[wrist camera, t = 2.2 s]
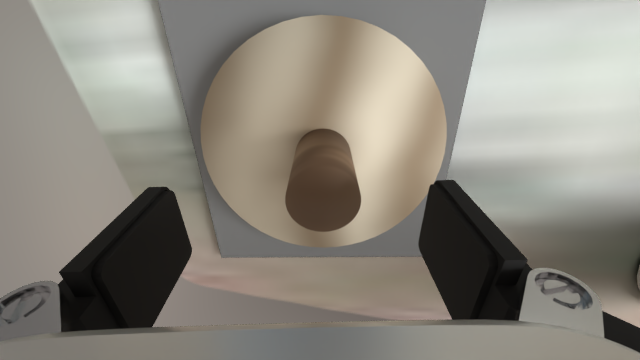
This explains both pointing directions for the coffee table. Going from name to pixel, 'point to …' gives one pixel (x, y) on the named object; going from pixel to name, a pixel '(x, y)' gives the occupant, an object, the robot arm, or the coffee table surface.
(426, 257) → the robot arm
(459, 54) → the mat
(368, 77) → the lid
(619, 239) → the coffee table surface
